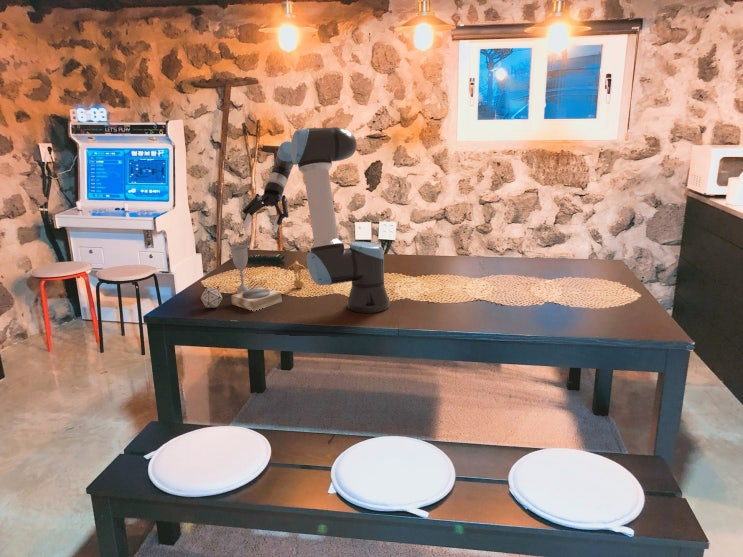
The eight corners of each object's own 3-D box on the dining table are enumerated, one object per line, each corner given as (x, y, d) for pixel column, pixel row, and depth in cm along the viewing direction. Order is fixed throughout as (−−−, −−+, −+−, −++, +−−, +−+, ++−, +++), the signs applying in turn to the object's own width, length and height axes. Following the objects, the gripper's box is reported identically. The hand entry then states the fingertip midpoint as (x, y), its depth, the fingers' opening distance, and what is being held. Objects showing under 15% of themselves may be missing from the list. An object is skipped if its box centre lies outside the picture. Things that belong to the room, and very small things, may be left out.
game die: (214, 319, 217) (207, 304, 208) (198, 308, 220) (190, 292, 212) (231, 302, 221) (225, 287, 212) (215, 291, 224) (208, 276, 216)
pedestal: (281, 301, 222) (281, 291, 221) (254, 311, 212) (253, 300, 211) (259, 295, 230) (258, 285, 229) (232, 304, 221) (231, 294, 219)
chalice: (247, 294, 231) (243, 249, 226) (231, 293, 233) (226, 249, 228) (254, 288, 238) (251, 245, 233) (239, 288, 240) (234, 244, 234)
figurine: (310, 286, 239) (308, 257, 235) (307, 291, 233) (306, 261, 230) (289, 286, 239) (287, 258, 236) (287, 291, 234) (284, 262, 230)
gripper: (305, 193, 245) (290, 236, 237) (253, 190, 254) (237, 232, 245) (298, 182, 239) (282, 226, 230) (245, 180, 248) (228, 222, 239)
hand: (259, 230), depth 238 cm, fingers open, 13 cm apart
